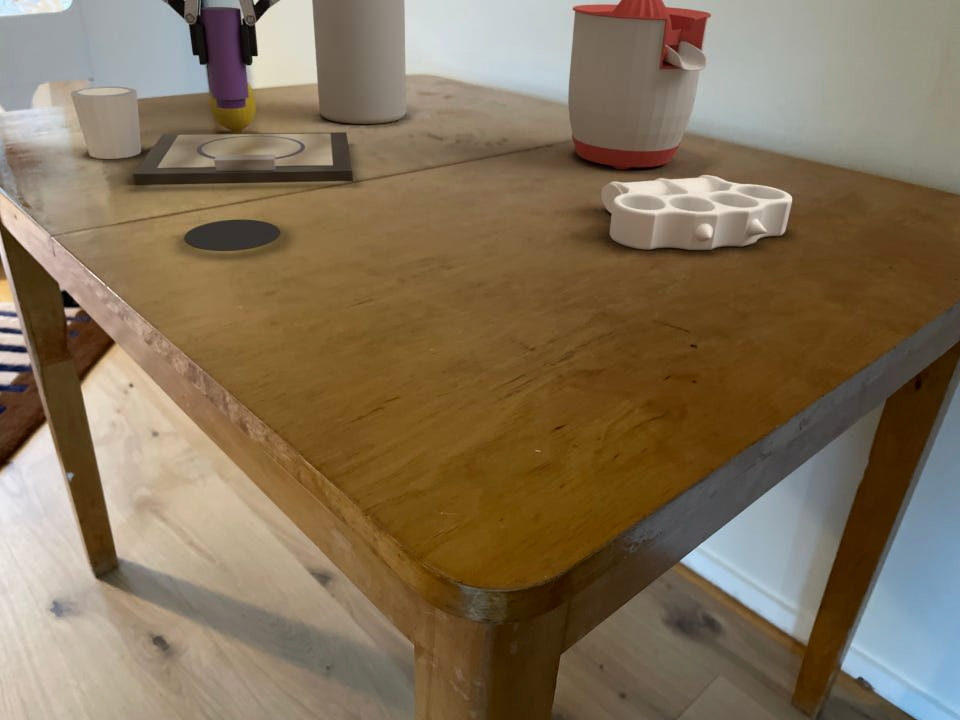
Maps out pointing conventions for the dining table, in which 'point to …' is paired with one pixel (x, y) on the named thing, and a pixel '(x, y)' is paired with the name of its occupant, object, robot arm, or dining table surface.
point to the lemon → (235, 114)
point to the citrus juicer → (633, 80)
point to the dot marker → (225, 56)
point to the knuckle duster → (694, 213)
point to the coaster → (232, 235)
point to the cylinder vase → (360, 60)
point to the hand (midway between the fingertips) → (226, 61)
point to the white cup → (109, 121)
